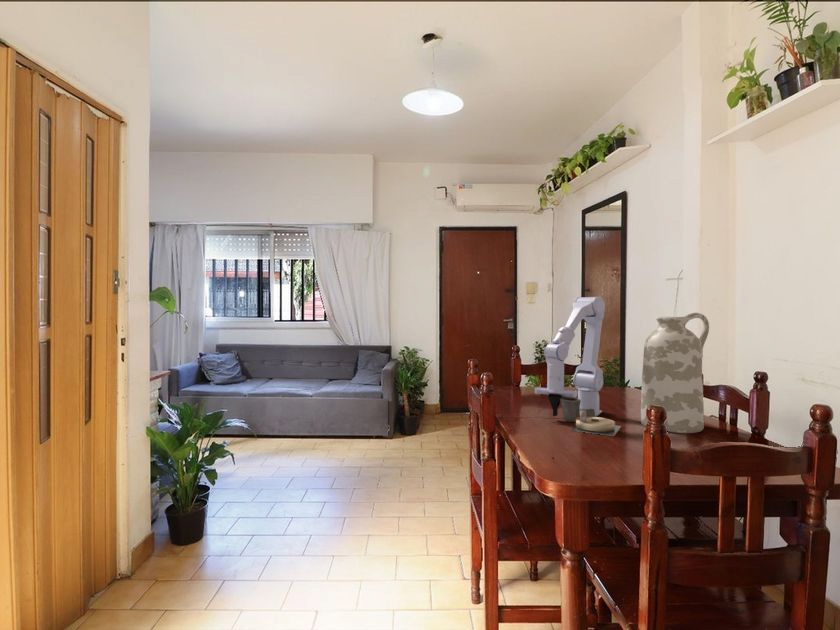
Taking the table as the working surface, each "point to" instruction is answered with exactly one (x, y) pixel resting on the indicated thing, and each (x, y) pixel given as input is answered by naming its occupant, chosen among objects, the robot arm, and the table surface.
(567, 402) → the pipe
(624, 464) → the table surface
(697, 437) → the table surface
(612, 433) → the base plate
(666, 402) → the vase
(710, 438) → the table surface
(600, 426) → the beige low round piece
